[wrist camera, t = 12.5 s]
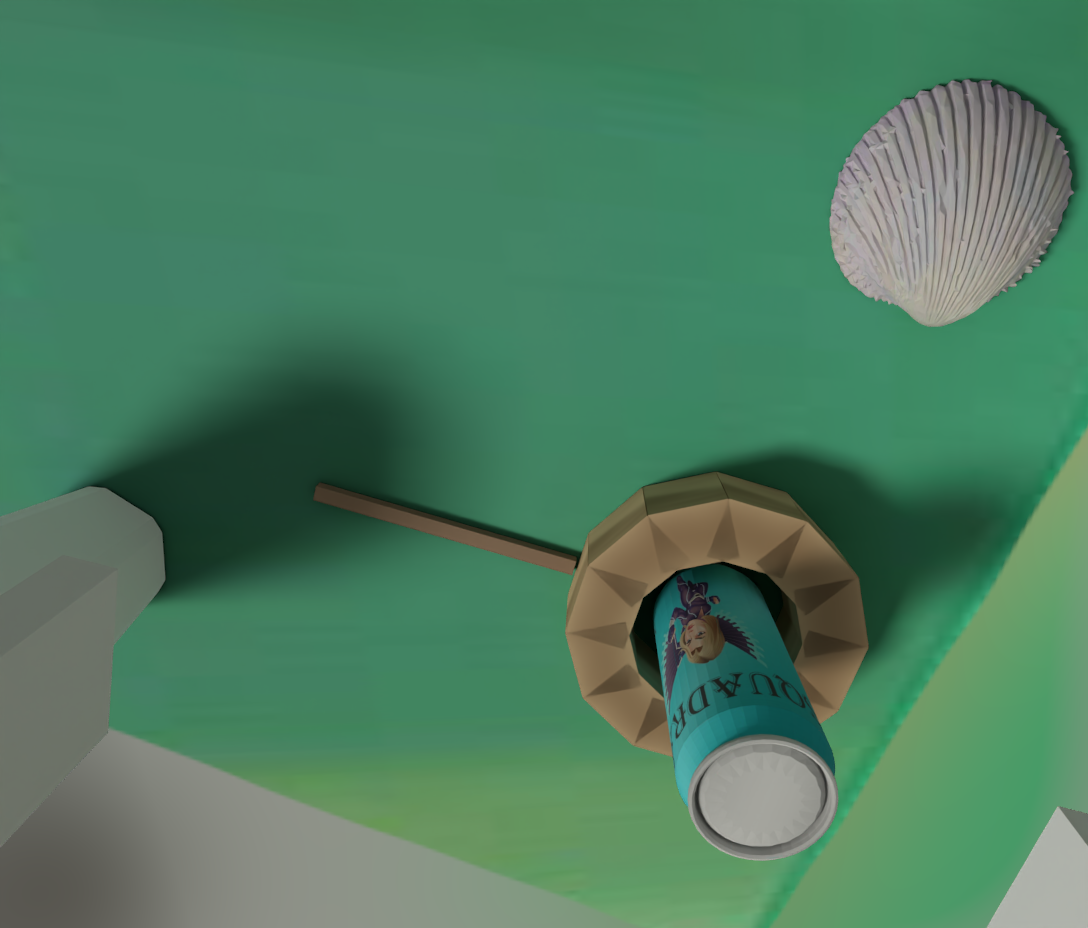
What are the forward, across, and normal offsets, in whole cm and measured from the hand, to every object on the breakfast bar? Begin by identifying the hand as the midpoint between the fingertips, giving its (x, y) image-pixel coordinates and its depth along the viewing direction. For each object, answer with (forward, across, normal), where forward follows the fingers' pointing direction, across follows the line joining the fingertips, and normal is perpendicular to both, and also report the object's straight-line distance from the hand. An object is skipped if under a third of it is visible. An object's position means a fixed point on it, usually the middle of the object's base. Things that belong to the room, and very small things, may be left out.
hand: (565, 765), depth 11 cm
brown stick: (+28, -5, -10) cm, 31 cm away
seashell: (+30, +13, +11) cm, 34 cm away
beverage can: (+29, +9, -11) cm, 32 cm away
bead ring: (+28, +9, -11) cm, 32 cm away
